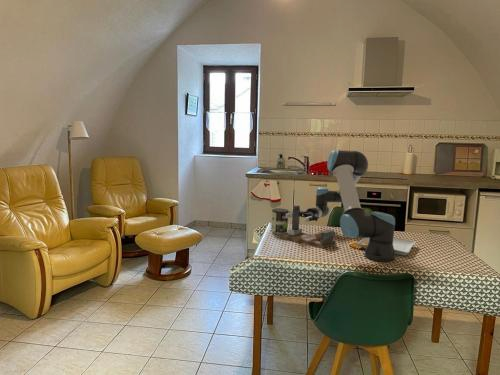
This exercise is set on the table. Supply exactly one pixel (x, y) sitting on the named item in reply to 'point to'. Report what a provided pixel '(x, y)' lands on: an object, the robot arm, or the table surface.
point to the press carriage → (295, 222)
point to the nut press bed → (313, 238)
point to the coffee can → (279, 221)
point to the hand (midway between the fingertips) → (295, 218)
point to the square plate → (395, 245)
